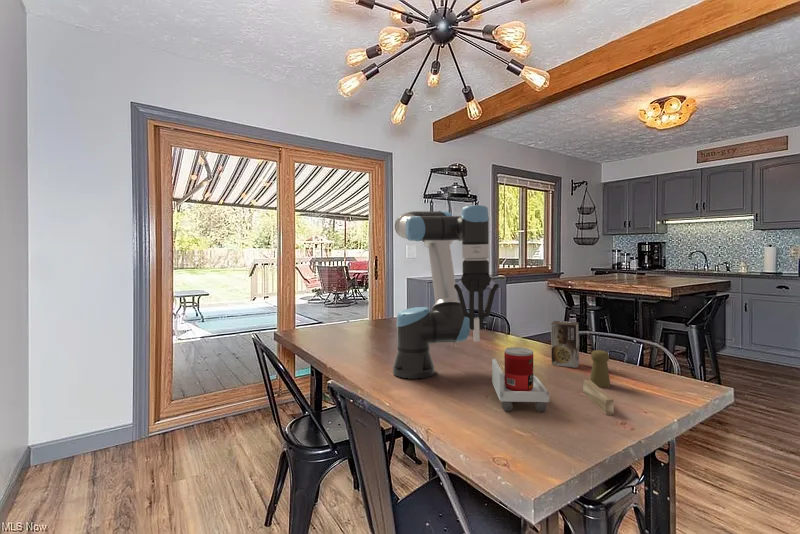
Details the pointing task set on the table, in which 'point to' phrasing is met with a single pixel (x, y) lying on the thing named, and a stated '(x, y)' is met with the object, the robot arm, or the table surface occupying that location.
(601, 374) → the cork
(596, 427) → the table surface
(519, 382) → the canned food
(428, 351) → the robot arm
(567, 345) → the coffee box
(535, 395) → the cart
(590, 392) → the bar
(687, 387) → the table surface
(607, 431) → the table surface
